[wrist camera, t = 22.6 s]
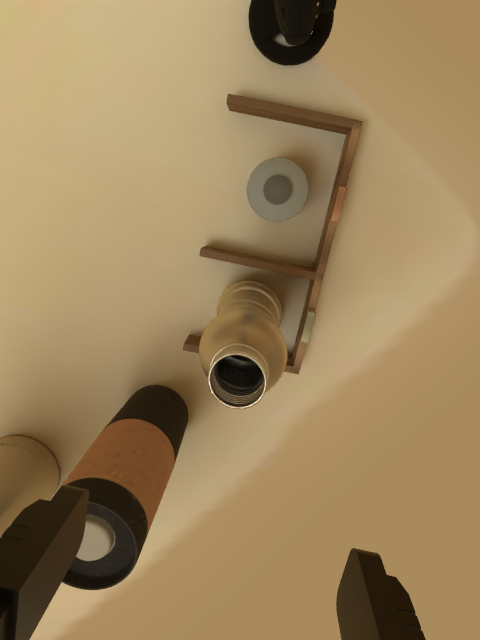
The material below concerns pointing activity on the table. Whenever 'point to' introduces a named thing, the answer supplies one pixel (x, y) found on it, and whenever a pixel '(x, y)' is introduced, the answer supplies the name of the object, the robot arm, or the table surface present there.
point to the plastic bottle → (244, 345)
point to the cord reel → (277, 189)
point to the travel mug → (125, 485)
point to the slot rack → (332, 217)
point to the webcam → (291, 28)
